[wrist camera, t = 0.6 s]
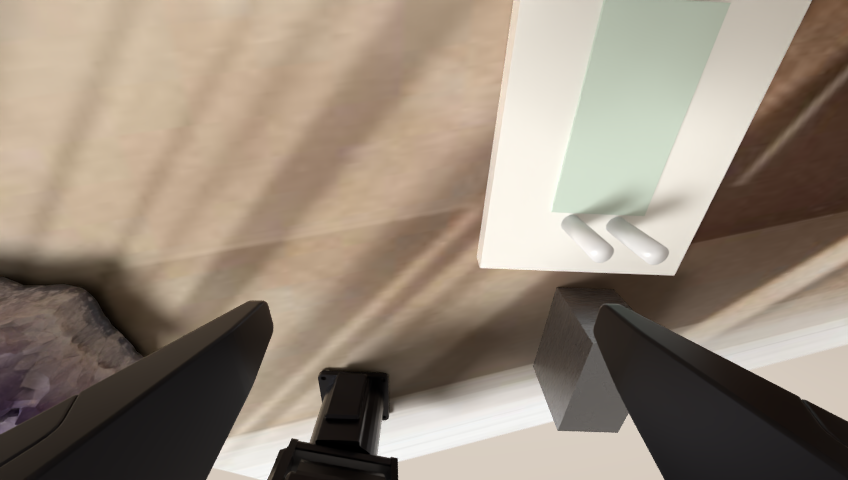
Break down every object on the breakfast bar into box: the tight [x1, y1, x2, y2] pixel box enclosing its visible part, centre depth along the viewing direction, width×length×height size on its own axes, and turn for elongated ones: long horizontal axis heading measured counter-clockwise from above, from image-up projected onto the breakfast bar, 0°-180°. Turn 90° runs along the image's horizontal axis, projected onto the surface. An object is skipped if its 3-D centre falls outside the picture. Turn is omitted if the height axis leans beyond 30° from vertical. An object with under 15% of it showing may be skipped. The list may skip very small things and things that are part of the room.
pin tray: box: [477, 0, 812, 276], centre depth 16 cm, size 20×14×6 cm
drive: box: [533, 287, 633, 433], centre depth 24 cm, size 9×5×6 cm, turn 177°
